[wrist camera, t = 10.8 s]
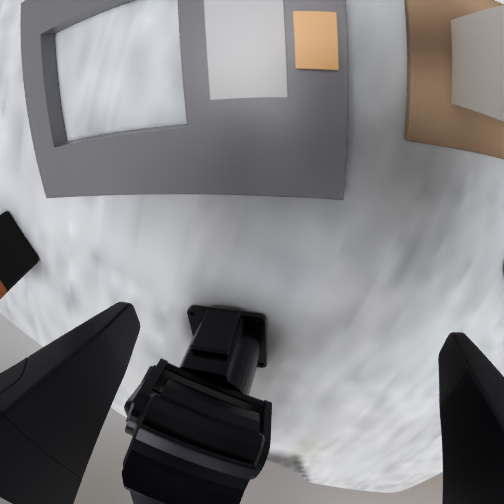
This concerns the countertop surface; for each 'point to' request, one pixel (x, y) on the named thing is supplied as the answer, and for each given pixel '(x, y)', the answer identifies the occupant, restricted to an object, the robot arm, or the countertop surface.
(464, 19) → the plug
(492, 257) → the countertop surface
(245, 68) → the grey square tray
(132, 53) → the countertop surface
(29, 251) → the battery
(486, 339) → the countertop surface
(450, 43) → the rest pad
